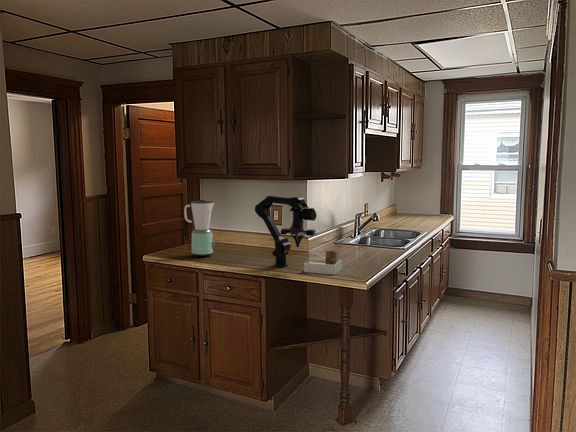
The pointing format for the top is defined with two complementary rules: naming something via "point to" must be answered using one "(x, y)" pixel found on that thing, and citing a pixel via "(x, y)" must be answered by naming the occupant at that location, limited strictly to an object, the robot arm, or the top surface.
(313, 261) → the box
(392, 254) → the top surface
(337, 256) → the walnut block
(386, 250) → the top surface
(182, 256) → the top surface
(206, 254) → the mint green blender
